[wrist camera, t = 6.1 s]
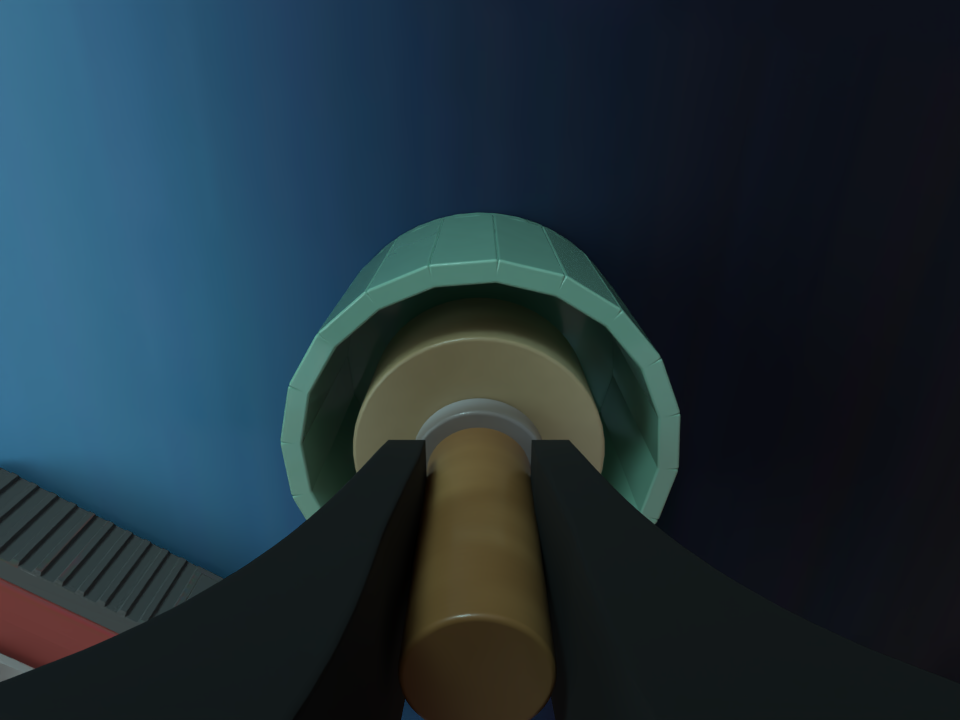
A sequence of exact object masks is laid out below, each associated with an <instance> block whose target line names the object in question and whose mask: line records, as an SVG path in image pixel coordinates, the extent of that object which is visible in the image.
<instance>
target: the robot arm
mask: <svg viewBox="0 0 960 720" xmlns="http://www.w3.org/2000/svg"><path fill="white" fill-rule="evenodd" d="M530 478H531V486H532V493H533V501H534V509H535V515H536V520H537V526H538V532H539V538H540V544H541V552H542V560H543V567H544V575H545V582H546V590H547V597H548V605H549V612H550V620H551V627H552V635H553V642H554V650H555V657H556V665H557V678H556V683H555V687H554V690H553V692H552V695H551V699H552V704H553V709H554V714H555V720H960V684H959V683H956V682H954V681H951V680H949V679H946V678H943V677H941V676H938V675H936V674H933V673H930V672H928V671H925V670H923V669H920V668H917V667H915V666H912V665H910V664H907V663H904V662H902V661H899V660H897V659H894V658H891V657H889V656H886V655H884V654H881V653H878V652H876V651H873V650H871V649H868V648H866V647H864V646H861V645H859V644H857V643H855V642H852V641H850V640H848V639H846V638H844V637H842V636H839V635H837V634H835V633H833V632H831V631H829V630H826V629H824V628H822V627H820V626H818V625H816V624H813V623H811V622H809V621H807V620H805V619H803V618H801V617H799V616H797V615H795V614H793V613H791V612H789V611H787V610H785V609H784V608H782V607H780V606H778V605H776V604H774V603H772V602H771V601H769V600H767V599H765V598H764V597H762V596H760V595H758V594H757V593H755V592H753V591H751V590H749V589H748V588H746V587H744V586H742V585H741V584H739V583H737V582H735V581H734V580H732V579H731V578H729V577H727V576H726V575H724V574H723V573H721V572H719V571H718V570H716V569H715V568H713V567H712V566H710V565H709V564H707V563H706V562H705V561H703V560H702V559H700V558H699V557H697V556H696V555H694V554H693V553H691V552H690V551H689V550H687V549H686V548H684V547H683V546H681V545H680V544H679V543H677V542H676V541H675V540H673V539H672V538H671V537H670V536H668V535H667V534H666V533H664V532H663V531H662V530H661V529H660V528H658V527H657V526H656V525H655V524H654V523H652V522H651V521H650V520H649V519H648V518H646V517H645V516H644V515H643V514H642V513H640V512H639V511H638V510H637V509H636V508H635V507H634V506H633V505H632V504H631V503H629V502H628V501H627V500H626V499H625V498H624V497H623V496H622V495H621V494H620V493H619V492H618V491H617V490H616V489H615V488H614V487H613V486H612V485H611V484H610V483H609V482H608V481H607V480H606V479H605V478H604V477H603V476H602V475H601V474H600V473H599V472H598V471H597V469H596V468H595V467H594V466H593V465H592V464H591V463H590V462H589V461H588V460H587V459H586V458H585V456H584V455H583V454H582V453H581V452H580V451H579V450H578V449H577V448H576V447H575V446H574V445H573V444H572V443H571V441H570V440H532V443H531V475H530ZM426 479H427V471H426V441H425V440H388V441H387V442H386V443H385V444H384V445H382V446H381V447H380V449H379V450H378V451H377V452H376V453H375V454H374V455H373V456H372V457H371V458H370V459H369V460H368V461H367V462H366V463H365V464H364V466H363V467H362V468H361V469H360V470H359V471H358V472H357V473H356V474H355V475H354V476H353V477H352V478H351V479H350V480H349V481H348V482H347V483H346V484H345V485H344V486H343V487H342V488H341V489H340V490H339V491H338V492H337V493H336V494H335V495H334V496H333V497H332V498H331V499H330V500H329V501H328V502H327V503H326V504H324V505H323V506H322V507H321V508H320V509H319V510H318V511H317V512H315V513H314V514H313V515H312V516H311V517H310V518H308V519H307V520H306V521H305V522H304V523H303V524H302V525H300V526H299V527H298V528H297V529H296V530H294V531H293V532H292V533H291V534H289V535H288V536H287V537H285V538H284V539H283V540H281V541H280V542H279V543H277V544H276V545H275V546H273V547H272V548H270V549H269V550H268V551H266V552H265V553H263V554H262V555H260V556H259V557H257V558H256V559H255V560H253V561H252V562H250V563H249V564H247V565H246V566H244V567H243V568H241V569H240V570H238V571H236V572H235V573H233V574H231V575H230V576H228V577H226V578H224V579H223V580H221V581H219V582H218V583H216V584H214V585H212V586H211V587H209V588H207V589H206V590H204V591H202V592H200V593H199V594H197V595H195V596H194V597H192V598H190V599H188V600H187V601H185V602H183V603H181V604H179V605H178V606H176V607H174V608H172V609H170V610H168V611H166V612H164V613H162V614H160V615H158V616H156V617H154V618H152V619H150V620H148V621H146V622H144V623H142V624H140V625H137V626H135V627H133V628H131V629H129V630H127V631H124V632H122V633H120V634H118V635H116V636H114V637H111V638H109V639H107V640H105V641H102V642H100V643H98V644H96V645H93V646H91V647H89V648H86V649H84V650H81V651H79V652H76V653H74V654H71V655H69V656H66V657H63V658H61V659H58V660H56V661H53V662H51V663H48V664H46V665H43V666H40V667H38V668H35V669H33V670H30V671H28V672H25V673H22V674H20V675H17V676H15V677H12V678H10V679H7V680H4V681H1V682H0V720H401V717H402V712H403V707H404V702H405V697H404V695H403V693H402V690H401V687H400V684H399V680H398V662H399V656H400V649H401V642H402V635H403V628H404V622H405V615H406V608H407V601H408V594H409V587H410V581H411V574H412V567H413V560H414V553H415V547H416V541H417V535H418V529H419V524H420V519H421V514H422V507H423V500H424V493H425V486H426Z"/></svg>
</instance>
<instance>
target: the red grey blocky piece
mask: <svg viewBox="0 0 960 720" xmlns="http://www.w3.org/2000/svg"><path fill="white" fill-rule="evenodd" d="M221 580H223V578H221V577H219V576H217V575H215V574H213V573H211V572H209V571H207V570H205V569H203V568H201V567H199V566H195V565H193V564H191V563H189V562H187V560H185V559H183V558H181V557H180V558H179V557H177V556H175V555H173V554H171V553H169V551H168V550H166V549H164V548H163V549H161V548H159V547H157V546H156V545H154V544H152V543H151V542H150V541H148V540H146V539H144V540H143V539H141V538H139V537H137V536H136V535H134V534H133V533H132V532H130V531H128V530H126V531H125V530H123V529H121V528H120V527H118V526H116V525H115V524H114V523H112V522H110V521H106V520H104V519H102V518H100V517H98V516H96V515H95V514H94V513H92V512H90V511H89V512H88V511H86V510H84V509H82V508H80V507H78V506H77V505H76V504H74V503H72V502H68V501H66V500H64V499H62V498H60V497H58V495H56V494H54V493H52V492H51V493H50V492H48V491H46V490H44V489H42V488H40V487H39V486H38V485H36V484H34V483H30V482H28V481H26V480H24V479H22V478H20V477H19V476H18V475H17V474H15V473H13V472H12V473H10V472H8V471H6V470H4V469H2V468H0V682H1V681H4V680H7V679H10V678H12V677H15V676H17V675H20V674H22V673H25V672H28V671H30V670H33V669H35V668H38V667H40V666H43V665H46V664H48V663H51V662H53V661H56V660H58V659H61V658H63V657H66V656H69V655H71V654H74V653H76V652H79V651H81V650H84V649H86V648H89V647H91V646H93V645H96V644H98V643H100V642H102V641H105V640H107V639H109V638H111V637H114V636H116V635H118V634H120V633H122V632H124V631H127V630H129V629H131V628H133V627H135V626H137V625H140V624H142V623H144V622H146V621H148V620H150V619H152V618H154V617H156V616H158V615H160V614H162V613H164V612H166V611H168V610H170V609H172V608H174V607H176V606H178V605H179V604H181V603H183V602H185V601H187V600H188V599H190V598H192V597H194V596H195V595H197V594H199V593H200V592H202V591H204V590H206V589H207V588H209V587H211V586H212V585H214V584H216V583H218V582H219V581H221Z"/></svg>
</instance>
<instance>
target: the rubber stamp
mask: <svg viewBox="0 0 960 720" xmlns="http://www.w3.org/2000/svg"><path fill="white" fill-rule="evenodd" d="M388 440H425V441H426V471H427V479H426V486H425V493H424V500H423V507H422V514H421V519H420V524H419V529H418V535H417V541H416V547H415V553H414V560H413V567H412V574H411V581H410V587H409V594H408V601H407V608H406V615H405V622H404V628H403V635H402V642H401V649H400V656H399V662H398V680H399V684H400V687H401V690H402V693H403V695H404V697H405V699H406V701H407V702H408V704H409V705H410V706H411V708H412V709H413V710H414V711H415V712H416V713H417V714H418V715H420V716H421V717H422V718H423V719H425V720H530V719H532V718H533V717H534V716H535V715H537V714H538V713H539V712H540V711H541V710H542V709H543V707H544V706H545V705H546V703H547V702H548V700H549V698H550V696H551V695H552V692H553V690H554V687H555V683H556V678H557V665H556V657H555V650H554V642H553V635H552V627H551V620H550V612H549V605H548V597H547V590H546V582H545V575H544V567H543V560H542V552H541V544H540V538H539V532H538V526H537V520H536V515H535V509H534V501H533V493H532V486H531V478H530V475H531V443H532V440H570V441H571V443H572V444H573V445H574V446H575V447H576V448H577V449H578V450H579V451H580V452H581V453H582V454H583V455H584V456H585V458H586V459H587V460H588V461H589V462H590V463H591V464H592V465H593V466H594V467H595V468H596V469H597V471H598V472H599V473H600V474H601V472H602V469H603V462H604V456H605V439H604V432H603V425H602V422H601V419H600V416H599V412H598V409H597V407H596V404H595V401H594V399H593V396H592V393H591V391H590V388H589V385H588V383H587V380H586V377H585V375H584V372H583V369H582V367H581V364H580V362H579V359H578V357H577V355H576V353H575V351H574V349H573V348H572V346H571V345H570V343H569V342H568V340H567V339H566V338H565V337H564V336H563V334H562V333H561V332H560V331H559V330H558V329H557V328H556V327H555V326H554V325H553V324H551V323H550V322H549V321H548V320H547V319H545V318H544V317H542V316H540V315H539V314H537V313H536V312H534V311H532V310H530V309H528V308H526V307H524V306H521V305H518V304H515V303H512V302H509V301H504V300H499V299H493V298H465V299H459V300H454V301H449V302H446V303H443V304H440V305H437V306H435V307H433V308H431V309H428V310H426V311H424V312H422V313H421V314H419V315H418V316H416V317H415V318H413V319H412V320H410V321H409V322H408V323H407V324H406V325H405V326H403V327H402V328H401V329H400V330H399V331H398V332H397V334H396V335H395V336H394V337H393V338H392V339H391V341H390V342H389V344H388V345H387V347H386V348H385V350H384V352H383V354H382V356H381V358H380V360H379V362H378V365H377V367H376V370H375V373H374V375H373V378H372V380H371V383H370V385H369V388H368V391H367V393H366V396H365V398H364V401H363V403H362V406H361V408H360V411H359V414H358V418H357V421H356V424H355V430H354V437H353V457H354V463H355V469H356V473H357V472H358V471H359V470H360V469H361V468H362V467H363V466H364V464H365V463H366V462H367V461H368V460H369V459H370V458H371V457H372V456H373V455H374V454H375V453H376V452H377V451H378V450H379V449H380V447H381V446H382V445H384V444H385V443H386V442H387V441H388Z"/></svg>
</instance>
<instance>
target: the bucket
mask: <svg viewBox="0 0 960 720" xmlns="http://www.w3.org/2000/svg"><path fill="white" fill-rule="evenodd" d="M465 298H493V299H499V300H504V301H509V302H512V303H515V304H518V305H521V306H524V307H526V308H528V309H530V310H532V311H534V312H536V313H537V314H539V315H540V316H542V317H544V318H545V319H547V320H548V321H549V322H550V323H551V324H553V325H554V326H555V327H556V328H557V329H558V330H559V331H560V332H561V333H562V334H563V336H564V337H565V338H566V339H567V340H568V342H569V343H570V345H571V346H572V348H573V349H574V351H575V353H576V355H577V357H578V359H579V362H580V364H581V367H582V369H583V372H584V375H585V377H586V380H587V383H588V385H589V388H590V391H591V393H592V396H593V399H594V401H595V404H596V407H597V409H598V412H599V416H600V419H601V422H602V425H603V432H604V439H605V456H604V462H603V469H602V472H601V475H602V476H603V477H604V478H605V479H606V480H607V481H608V482H609V483H610V484H611V485H612V486H613V487H614V488H615V489H616V490H617V491H618V492H619V493H620V494H621V495H622V496H623V497H624V498H625V499H626V500H627V501H628V502H629V503H631V504H632V505H633V506H634V507H635V508H636V509H637V510H638V511H639V512H640V513H642V514H643V515H644V516H645V517H646V518H648V519H649V520H650V521H651V522H652V523H654V524H656V522H657V519H659V517H660V515H661V512H662V510H663V507H664V505H665V502H666V500H667V497H668V495H669V492H670V490H671V487H672V485H673V482H674V480H675V477H676V475H677V472H678V467H679V446H680V410H679V407H678V404H677V401H676V398H675V395H674V392H673V389H672V386H671V383H670V380H669V377H668V374H667V372H666V369H665V366H664V363H663V360H662V358H661V357H660V355H659V353H658V352H657V350H656V349H655V347H654V346H653V345H652V343H651V342H650V340H649V339H648V337H647V336H646V335H645V333H644V332H643V330H642V329H641V327H640V326H639V325H638V323H637V322H636V320H635V319H634V317H633V316H632V314H631V313H630V312H629V310H628V309H627V307H626V306H625V304H624V303H623V302H622V300H621V299H620V297H619V296H618V294H617V293H616V292H615V290H614V289H613V287H612V286H611V285H610V284H609V282H608V281H607V280H606V279H605V277H604V276H603V275H602V274H601V272H600V271H599V269H598V268H597V267H596V266H595V265H594V264H593V262H592V261H591V260H590V259H589V258H588V256H587V255H586V254H584V253H583V251H581V250H580V249H578V248H577V247H576V246H575V245H574V244H573V243H571V242H570V241H568V240H567V239H565V238H564V237H562V236H561V235H559V234H558V233H556V232H555V231H552V230H550V229H548V228H546V227H544V226H542V225H540V224H537V223H535V222H532V221H528V220H525V219H522V218H519V217H515V216H509V215H503V214H497V213H469V214H458V215H453V216H448V217H444V218H440V219H436V220H433V221H431V222H428V223H425V224H423V225H420V226H417V227H416V228H414V229H412V230H410V231H408V232H406V233H405V234H403V235H401V236H399V237H398V238H397V239H395V240H394V241H393V242H391V243H390V244H388V245H387V246H386V247H384V248H383V249H382V250H381V251H380V252H379V253H378V254H377V255H376V256H375V257H374V258H373V259H372V260H371V261H370V262H369V263H368V264H367V265H366V266H365V267H364V268H363V269H362V270H361V272H359V274H358V275H357V277H356V278H355V280H354V281H353V283H352V284H351V285H350V287H349V288H348V290H347V291H346V293H345V294H344V295H343V297H342V298H341V300H340V301H339V303H338V304H337V305H336V307H335V308H334V310H333V311H332V313H331V314H330V316H329V317H328V318H327V320H326V321H325V323H324V324H323V326H322V327H321V328H320V330H319V331H318V333H317V334H316V336H315V338H314V339H313V341H312V343H311V345H310V347H309V349H308V350H307V352H306V354H305V356H304V358H303V359H302V361H301V363H300V365H299V367H298V369H297V370H296V372H295V374H294V376H293V378H292V379H291V381H290V383H289V387H288V391H287V398H286V405H285V411H284V418H283V425H282V432H281V448H282V453H283V457H284V462H285V467H286V471H287V476H288V481H289V485H290V490H291V494H292V495H293V499H294V500H295V502H296V504H297V505H298V507H299V509H300V510H301V512H302V514H303V515H304V517H305V519H306V520H307V519H308V518H310V517H311V516H312V515H313V514H314V513H315V512H317V511H318V510H319V509H320V508H321V507H322V506H323V505H324V504H326V503H327V502H328V501H329V500H330V499H331V498H332V497H333V496H334V495H335V494H336V493H337V492H338V491H339V490H340V489H341V488H342V487H343V486H344V485H345V484H346V483H347V482H348V481H349V480H350V479H351V478H352V477H353V476H354V475H355V474H356V469H355V463H354V457H353V437H354V430H355V424H356V421H357V418H358V414H359V411H360V408H361V406H362V403H363V401H364V398H365V396H366V393H367V391H368V388H369V385H370V383H371V380H372V378H373V375H374V373H375V370H376V367H377V365H378V362H379V360H380V358H381V356H382V354H383V352H384V350H385V348H386V347H387V345H388V344H389V342H390V341H391V339H392V338H393V337H394V336H395V335H396V334H397V332H398V331H399V330H400V329H401V328H402V327H403V326H405V325H406V324H407V323H408V322H409V321H410V320H412V319H413V318H415V317H416V316H418V315H419V314H421V313H422V312H424V311H426V310H428V309H431V308H433V307H435V306H437V305H440V304H443V303H446V302H449V301H454V300H459V299H465Z"/></svg>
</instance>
